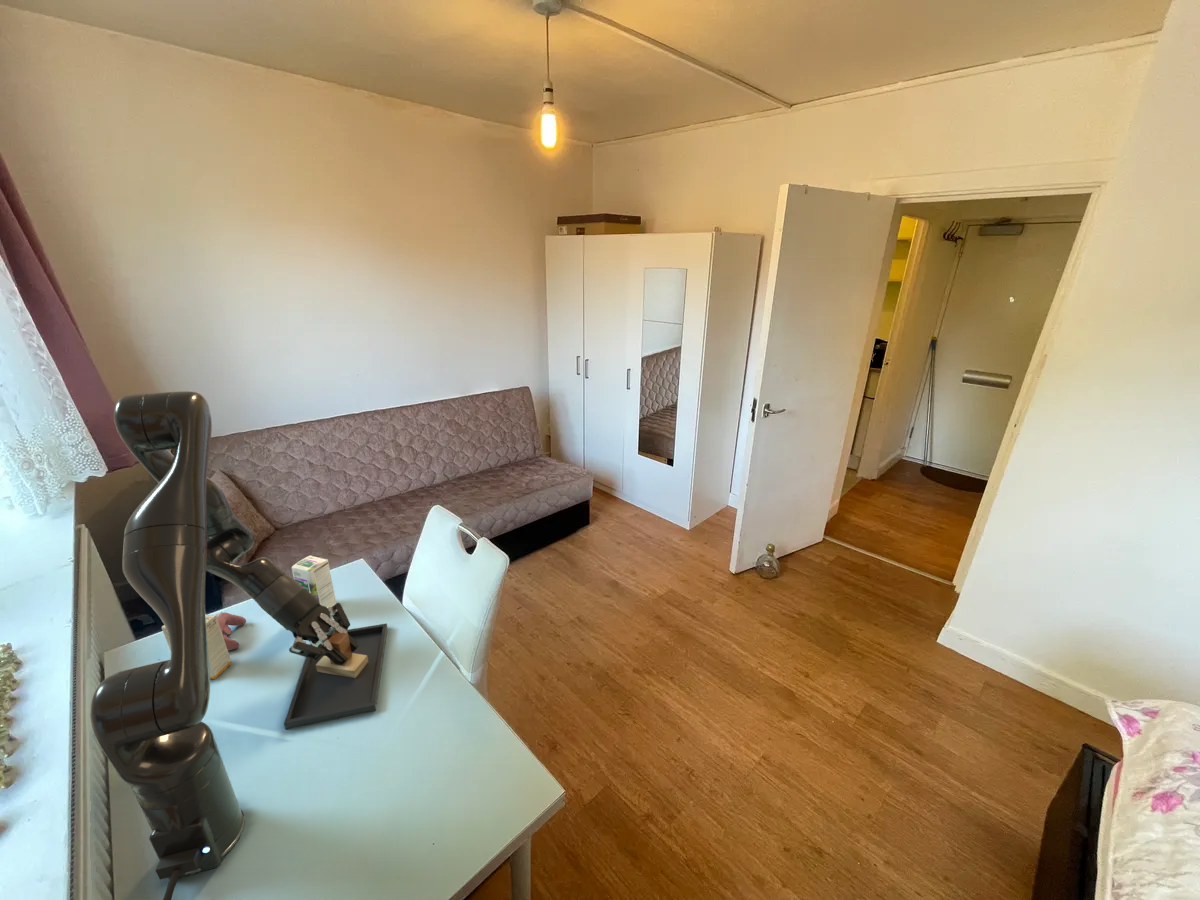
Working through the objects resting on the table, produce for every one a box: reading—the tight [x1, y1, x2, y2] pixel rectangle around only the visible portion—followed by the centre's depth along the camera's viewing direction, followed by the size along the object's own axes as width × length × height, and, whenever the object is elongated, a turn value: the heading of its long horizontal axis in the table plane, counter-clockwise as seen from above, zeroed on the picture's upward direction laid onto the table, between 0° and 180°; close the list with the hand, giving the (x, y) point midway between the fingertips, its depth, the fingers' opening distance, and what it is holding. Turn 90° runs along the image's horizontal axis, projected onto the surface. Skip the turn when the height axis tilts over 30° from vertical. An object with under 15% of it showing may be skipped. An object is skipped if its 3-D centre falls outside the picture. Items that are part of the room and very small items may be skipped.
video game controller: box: [215, 612, 247, 651], centre depth 111 cm, size 10×5×7 cm, turn 25°
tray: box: [283, 623, 389, 730], centre depth 104 cm, size 24×16×2 cm, turn 17°
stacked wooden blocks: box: [316, 632, 368, 678], centre depth 104 cm, size 9×4×8 cm, turn 81°
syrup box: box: [291, 555, 337, 608], centre depth 119 cm, size 6×6×14 cm
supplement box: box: [161, 614, 233, 680], centre depth 102 cm, size 8×5×13 cm, turn 84°
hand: (349, 655), depth 103 cm, fingers closed on stacked wooden blocks, 3 cm apart
